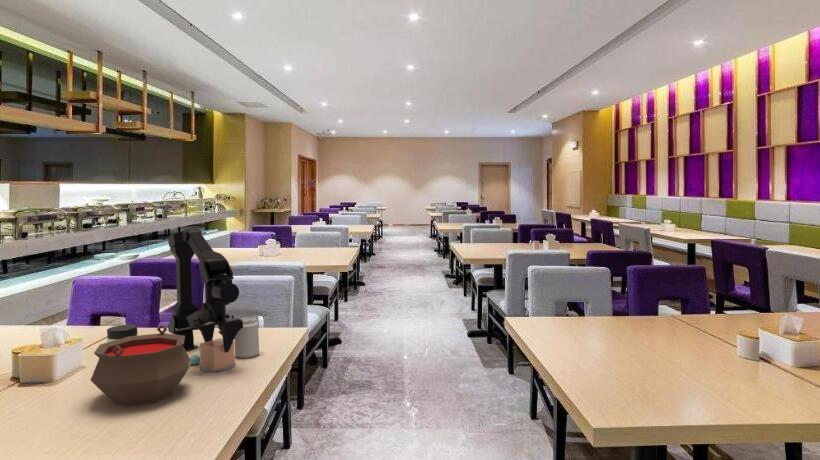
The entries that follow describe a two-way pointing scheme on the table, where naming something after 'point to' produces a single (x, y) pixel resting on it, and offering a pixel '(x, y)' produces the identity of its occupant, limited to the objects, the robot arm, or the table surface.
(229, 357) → the peach beveled cube
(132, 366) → the brown cauldron
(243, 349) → the can
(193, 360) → the marble teal
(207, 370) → the coaster
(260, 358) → the table surface
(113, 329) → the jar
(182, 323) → the robot arm
